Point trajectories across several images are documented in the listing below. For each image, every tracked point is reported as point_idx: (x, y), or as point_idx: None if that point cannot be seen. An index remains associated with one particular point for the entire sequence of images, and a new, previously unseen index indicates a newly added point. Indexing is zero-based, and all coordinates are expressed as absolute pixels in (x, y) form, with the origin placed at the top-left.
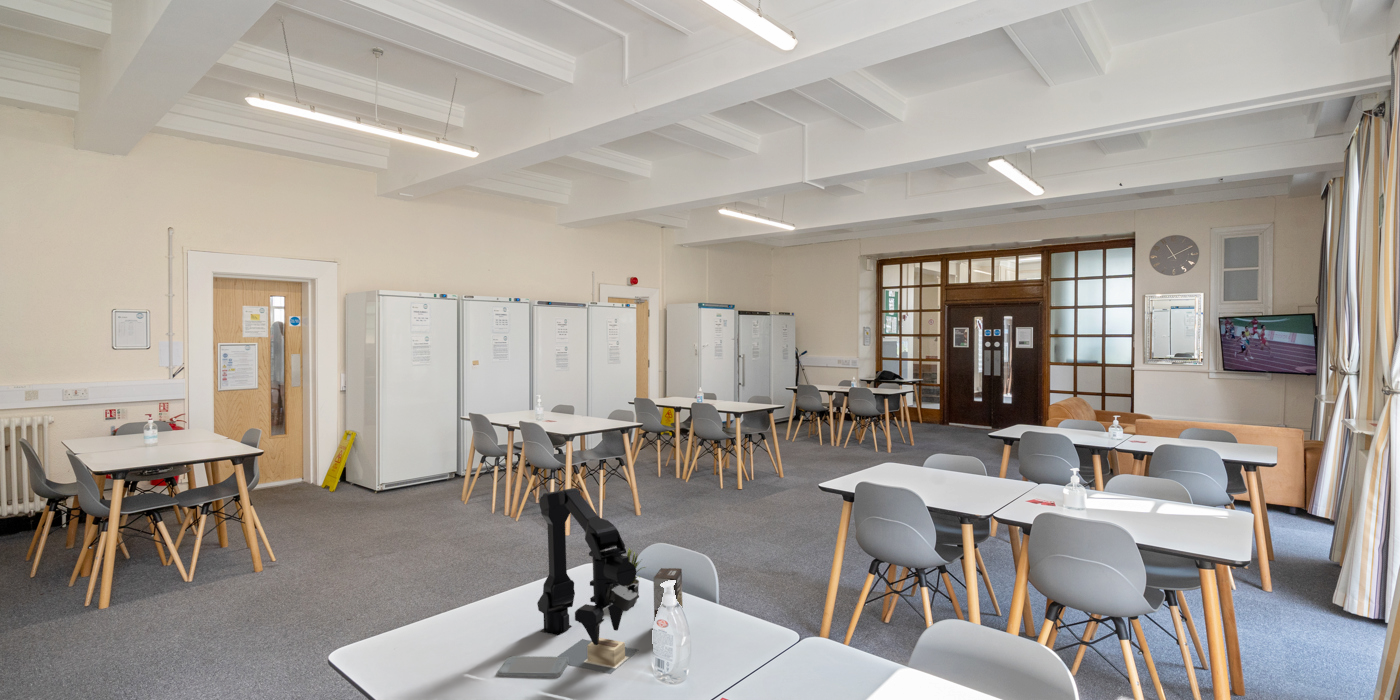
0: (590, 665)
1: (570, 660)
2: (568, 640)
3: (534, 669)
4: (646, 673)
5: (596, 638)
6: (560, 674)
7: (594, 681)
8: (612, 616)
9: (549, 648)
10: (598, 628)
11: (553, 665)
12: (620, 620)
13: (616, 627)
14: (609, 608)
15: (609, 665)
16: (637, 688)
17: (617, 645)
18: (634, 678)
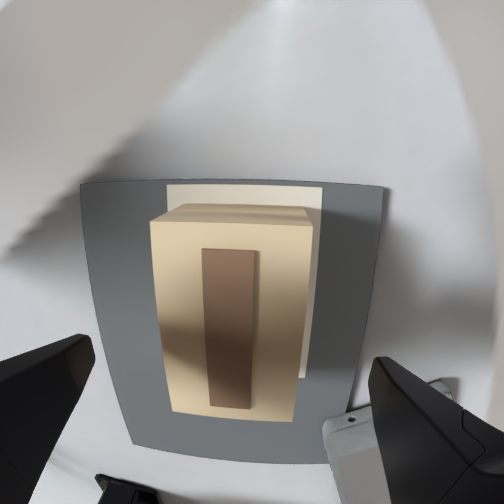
0: (328, 333)
1: (305, 422)
2: (157, 469)
3: None
4: (284, 20)
5: (429, 389)
6: (437, 387)
7: (443, 237)
8: (44, 433)
9: (231, 490)
10: (476, 443)
11: None
12: (22, 354)
13: (78, 352)
14: (24, 491)
15: None
16: (427, 15)
17: (219, 247)
18: (357, 53)
